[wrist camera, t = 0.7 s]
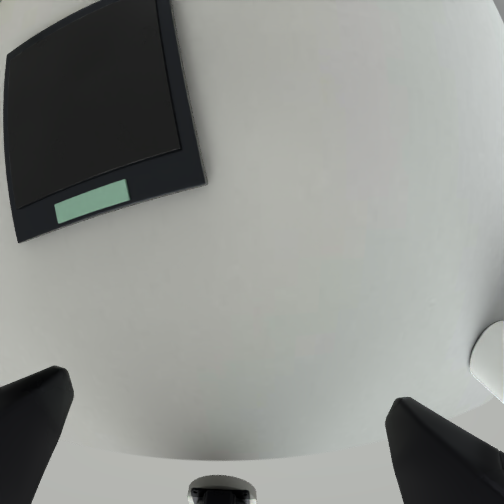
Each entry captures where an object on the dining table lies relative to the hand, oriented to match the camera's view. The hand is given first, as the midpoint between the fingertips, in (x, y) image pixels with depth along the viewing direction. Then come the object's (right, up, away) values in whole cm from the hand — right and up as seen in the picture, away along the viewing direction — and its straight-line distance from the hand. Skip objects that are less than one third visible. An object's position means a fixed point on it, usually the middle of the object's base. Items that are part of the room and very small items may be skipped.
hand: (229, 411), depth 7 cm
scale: (-12, +15, +11) cm, 22 cm away
